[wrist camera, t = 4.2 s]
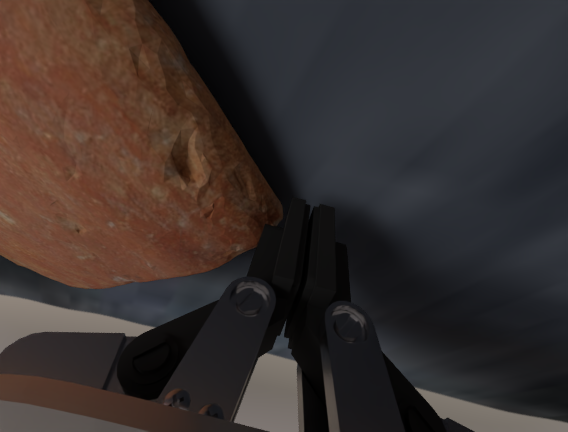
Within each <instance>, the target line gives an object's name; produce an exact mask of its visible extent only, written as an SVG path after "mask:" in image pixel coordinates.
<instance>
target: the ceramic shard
mask: <svg viewBox="0 0 568 432" xmlns="http://www.w3.org/2000/svg"><path fill="white" fill-rule="evenodd" d="M282 219H283V208H282V205H281V202H280V201H279V199H278V198H277V197H276V195H275V194H274V192H273V191H272V189H271V188H270V186H269V184H268V183H267V181H266V180H265V178H264V177H263V175H262V174H261V172H260V171H259V169H258V167H257V165H256V164H255V162H254V161H253V159H252V158H251V156H250V155H249V153H248V151H247V150H246V148H245V146H244V145H243V143H242V141H241V139H240V138H239V136H238V135H237V133H236V132H235V130H234V129H233V127H232V126H231V124H230V123H229V121H228V119H227V118H226V116H225V114H224V113H223V111H222V110H221V108H220V106H219V105H218V103H217V102H216V100H215V98H214V97H213V95H212V94H211V92H210V91H209V89H208V88H207V86H206V85H205V83H204V82H203V80H202V79H201V77H200V76H199V74H198V73H197V71H196V70H195V69H194V67H193V66H192V65H191V64H190V62H189V60H188V58H187V56H186V54H185V52H184V50H183V48H182V46H181V44H180V42H179V41H178V39H177V38H176V36H175V35H174V33H173V32H172V30H171V29H170V27H169V26H168V25H167V24H166V22H165V21H164V20H163V19H162V17H161V16H160V15H159V14H158V12H157V11H156V10H155V8H154V7H153V6H152V5H151V3H150V2H149V1H148V0H0V255H2V256H3V257H5V258H7V259H9V260H10V261H12V262H14V263H16V264H17V265H19V266H23V267H26V268H29V269H31V270H33V271H35V272H37V273H39V274H41V275H43V276H46V277H48V278H50V279H52V280H56V281H59V282H61V283H64V284H66V285H68V286H71V287H78V288H85V289H89V288H93V289H102V288H111V287H115V286H120V285H125V284H129V283H132V282H148V281H154V280H159V279H168V278H173V277H182V276H189V275H193V274H198V273H203V272H207V271H210V270H212V269H215V268H217V267H219V266H221V265H223V264H225V263H227V262H229V261H230V260H232V259H233V258H234V257H236V256H237V255H239V254H241V253H243V252H246V251H248V250H250V249H253V248H255V247H257V245H258V242H259V239H260V237H261V234H262V231H263V228H264V225H265V224H268V225H272V226H276V227H277V225H278V224H279V222H280V221H281V220H282Z"/></svg>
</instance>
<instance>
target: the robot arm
mask: <svg viewBox="0 0 568 432" xmlns="http://www.w3.org/2000/svg"><path fill="white" fill-rule="evenodd" d="M309 212H310V205H308V204H306V200H303V199H299V198H295V197H292V200H291V204H290V208H289V211H288V215H287V218H286V222H285V226H284V228H280V227H276V226H272V225H268V224H265V225H264V228H263V231H262V234H261V237H260V239H259V242H258V245H257V248H256V251H255V254H254V257H253V259H252V262H251V265H250V268H249V271H248V274H247V277H242V278H238V279H236V280H235V281H233V282H231V284H230V285H229V286H228V287H227V288H226V290H225V291H224V293H223V295H222V296H221V298H220V299H219V300H217V301H215V302H213V303H210V304H208V305H206V306H203V307H201V308H199V309H197V310H194V311H192V312H190V313H188V314H185V315H183V316H181V317H179V318H176V319H174V320H172V321H170V322H167V323H165V324H163V325H161V326H158V327H156V328H154V329H151V330H149V331H147V332H145V333H143V334H141V335H140V336H138V337H126V336H125V334H124V333H79V332H77V333H76V332H42V333H34V334H31V335H28V336H26V337H23V338H21V339H18V340H17V341H15V342H14V343H12V344H11V345H9V346H8V347H7V348H5V349H4V350H3V351H2V352H1V354H0V432H268V431H264V430H261V429H257V428H253V427H249V426H245V425H241V424H237V423H234V420H235V418H236V415H237V413H238V410H239V407H240V405H241V402H242V400H243V397H244V394H245V392H246V389H247V386H248V384H249V381H250V379H251V376H252V373H253V371H254V368H255V365H256V363H257V360H258V358H259V357H260V356H262V355H264V354H265V353H267V352H268V351H270V350H271V349H272V348H273V345H274V343H275V340H276V337H277V335H278V336H280V334H281V331H282V329H283V326H284V324H285V321H286V326H285V333H284V337H286V338H289V344H288V348H289V349H292V353H291V354H292V356H293V357H294V359H295V360H296V362H297V363H298V364H297V389H298V390H297V391H298V421H299V432H474V431H472V430H470V429H468V428H466V427H465V426H463V425H461V424H459V423H457V422H455V421H453V420H451V419H449V418H446V419H442V418H440V417H439V416H438V415H437V413H436V412H435V411H434V409H433V408H432V407H431V406H430V405H429V403H428V402H427V401H426V400H425V399H424V398H423V397H422V396H421V394H420V393H419V392H418V391H417V390H416V389H415V388H414V387H413V386H412V384H411V383H410V382H409V381H408V380H407V379H406V378H405V377H404V376H403V374H402V373H401V372H400V371H399V370H398V369H397V368H396V367H395V366H394V364H393V363H392V362H391V361H390V360H389V359H388V358H387V357H386V355H385V354H384V353H383V352H382V351H381V348H380V344H379V341H378V337H377V334H376V331H375V327H374V325H373V322H372V320H371V318H370V317H369V316H368V314H367V313H366V312H365V311H364V310H363V309H362V308H360V307H359V306H357V305H355V304H354V303H351V296H350V283H349V270H348V256H347V247H346V245H344V244H341V243H337V242H335V209H334V208H333V207H330V206H326V205H322V204H320V206H319V207H315V206H314V208H313V210H312V213H311V216H310V219H309ZM308 221H309V222H308ZM286 319H287V320H286Z"/></svg>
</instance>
